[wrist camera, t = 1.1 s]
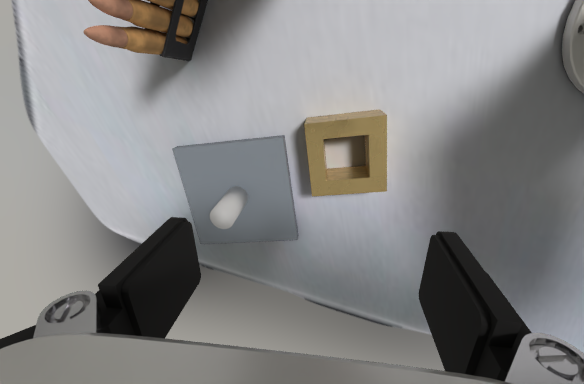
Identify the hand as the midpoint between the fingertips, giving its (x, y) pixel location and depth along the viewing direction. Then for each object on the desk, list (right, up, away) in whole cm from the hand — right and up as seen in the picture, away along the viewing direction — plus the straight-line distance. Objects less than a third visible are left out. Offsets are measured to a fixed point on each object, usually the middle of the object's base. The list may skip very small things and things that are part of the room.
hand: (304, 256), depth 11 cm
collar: (+5, +7, +18) cm, 20 cm away
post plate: (-6, +2, +21) cm, 22 cm away
